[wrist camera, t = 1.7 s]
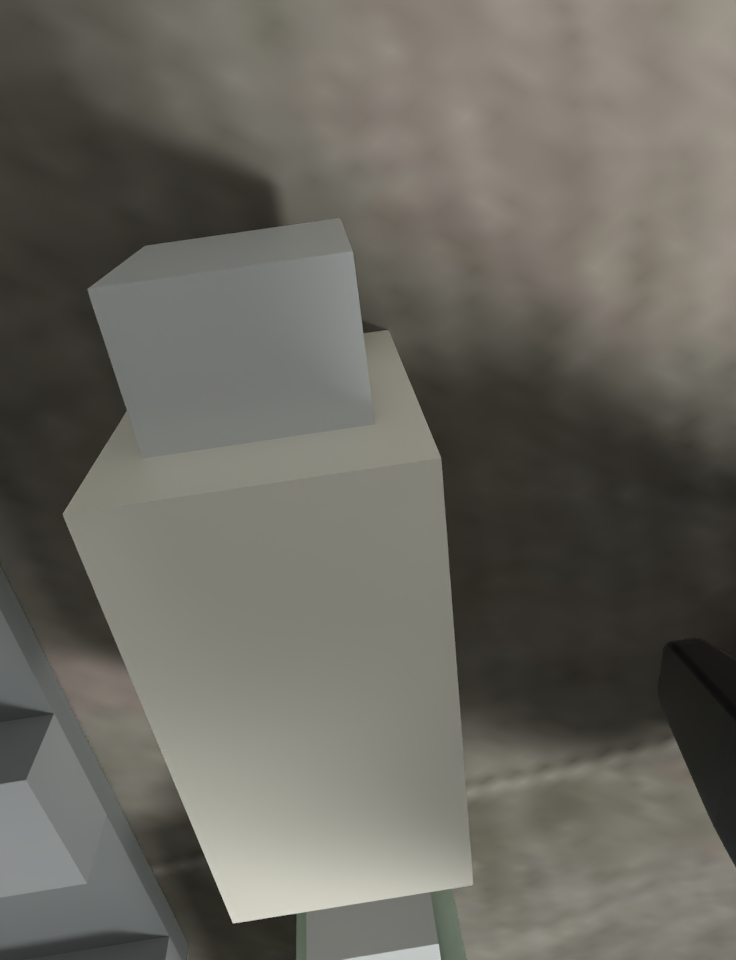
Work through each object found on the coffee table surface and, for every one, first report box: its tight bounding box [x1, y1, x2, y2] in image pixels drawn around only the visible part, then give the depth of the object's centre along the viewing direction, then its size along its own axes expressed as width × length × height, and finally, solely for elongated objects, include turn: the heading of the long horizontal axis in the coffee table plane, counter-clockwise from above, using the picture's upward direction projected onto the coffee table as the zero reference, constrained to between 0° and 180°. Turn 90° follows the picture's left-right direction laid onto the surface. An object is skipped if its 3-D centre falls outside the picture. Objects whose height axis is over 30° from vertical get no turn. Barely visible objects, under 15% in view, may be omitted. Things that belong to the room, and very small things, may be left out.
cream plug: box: [62, 218, 473, 924], centre depth 10 cm, size 10×4×5 cm, turn 7°
